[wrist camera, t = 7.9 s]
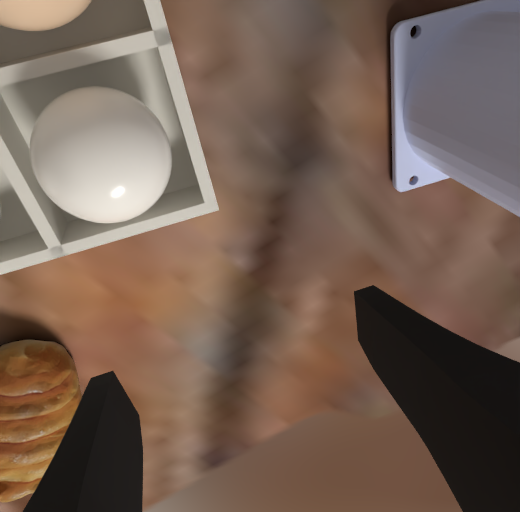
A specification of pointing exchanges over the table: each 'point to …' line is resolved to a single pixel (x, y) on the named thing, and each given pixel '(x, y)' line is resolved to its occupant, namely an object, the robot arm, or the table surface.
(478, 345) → the robot arm
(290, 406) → the table surface
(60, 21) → the brown egg
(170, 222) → the egg carton
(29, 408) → the pastry
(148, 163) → the white egg
